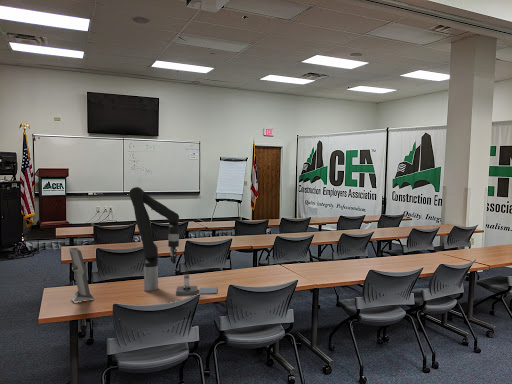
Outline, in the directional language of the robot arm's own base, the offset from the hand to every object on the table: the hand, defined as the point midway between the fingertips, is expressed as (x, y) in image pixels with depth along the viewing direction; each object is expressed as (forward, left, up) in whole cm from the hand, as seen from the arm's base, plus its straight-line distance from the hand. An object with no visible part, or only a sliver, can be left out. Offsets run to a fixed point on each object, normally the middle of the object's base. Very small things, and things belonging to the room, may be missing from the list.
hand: (173, 262), depth 274 cm
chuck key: (+10, -9, -19) cm, 24 cm away
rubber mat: (+25, -9, -19) cm, 33 cm away
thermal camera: (-58, -16, -20) cm, 63 cm away
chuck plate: (+10, -9, -19) cm, 24 cm away
